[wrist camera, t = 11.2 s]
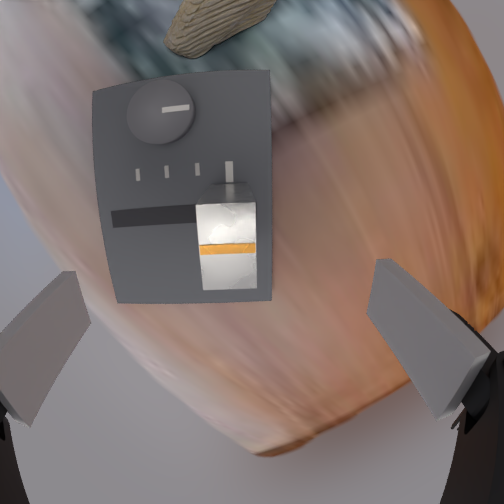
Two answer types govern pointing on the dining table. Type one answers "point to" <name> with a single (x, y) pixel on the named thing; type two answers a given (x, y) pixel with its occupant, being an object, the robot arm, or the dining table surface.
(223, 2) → the fossil tooth
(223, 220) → the fader
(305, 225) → the dining table surface
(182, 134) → the console
